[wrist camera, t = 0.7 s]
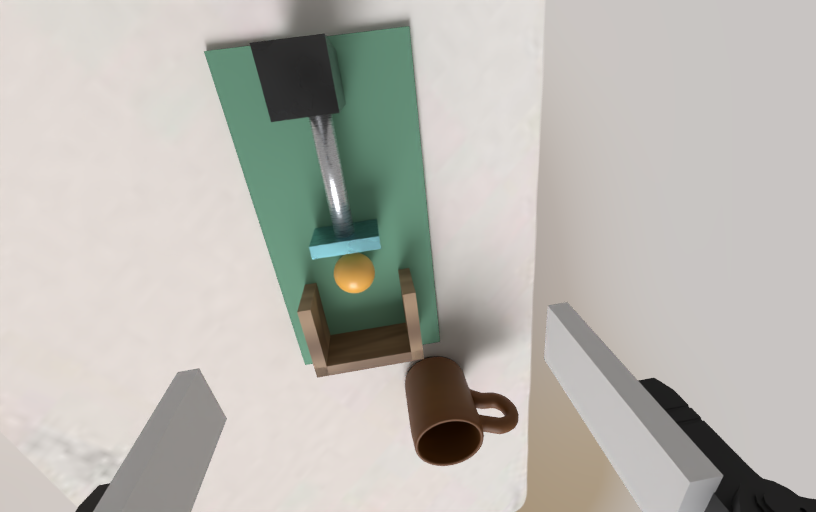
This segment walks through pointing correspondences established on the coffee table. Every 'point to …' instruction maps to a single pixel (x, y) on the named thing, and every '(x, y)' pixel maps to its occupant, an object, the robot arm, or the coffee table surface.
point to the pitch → (363, 172)
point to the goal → (360, 336)
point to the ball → (354, 272)
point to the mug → (450, 412)
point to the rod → (315, 128)
